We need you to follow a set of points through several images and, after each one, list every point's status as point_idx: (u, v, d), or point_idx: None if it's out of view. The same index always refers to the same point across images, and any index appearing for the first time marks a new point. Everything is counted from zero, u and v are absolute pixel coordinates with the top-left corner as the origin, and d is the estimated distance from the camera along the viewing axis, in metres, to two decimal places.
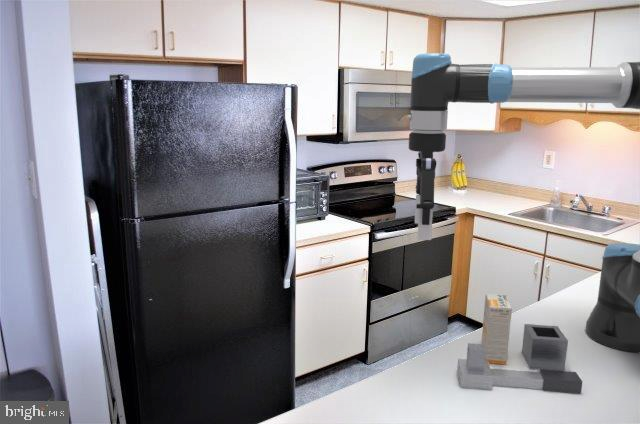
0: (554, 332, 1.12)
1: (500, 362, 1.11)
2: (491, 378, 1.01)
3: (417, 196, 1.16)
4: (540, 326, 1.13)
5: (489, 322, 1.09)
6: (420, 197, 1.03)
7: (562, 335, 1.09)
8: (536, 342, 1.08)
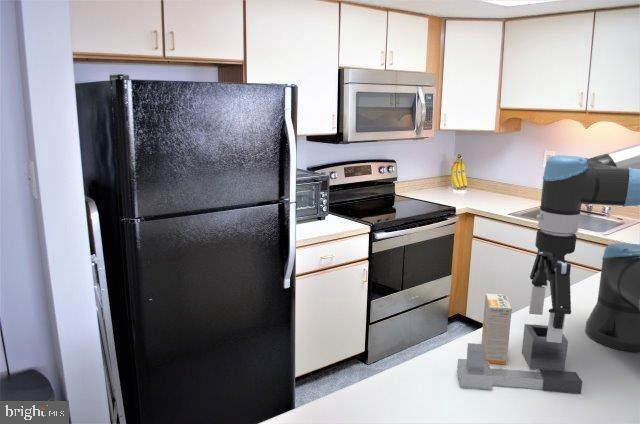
0: None
1: (500, 362, 1.11)
2: (491, 378, 1.01)
3: (534, 288, 1.15)
4: (540, 326, 1.13)
5: (489, 322, 1.09)
6: (553, 301, 1.02)
7: (562, 335, 1.09)
8: (536, 342, 1.08)
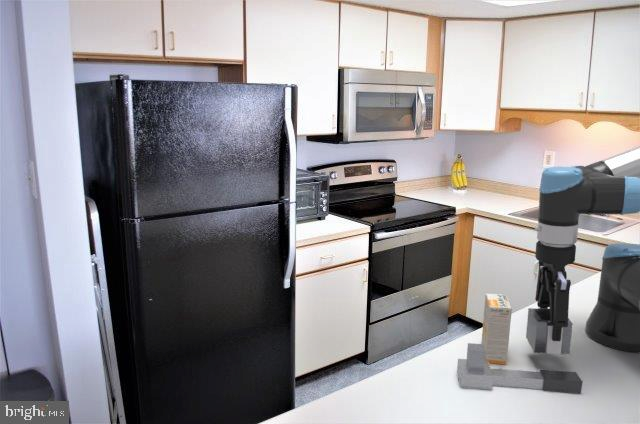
0: None
1: (500, 362, 1.11)
2: (491, 378, 1.01)
3: None
4: (544, 310, 1.12)
5: (489, 322, 1.09)
6: (551, 314, 1.05)
7: None
8: (540, 325, 1.07)
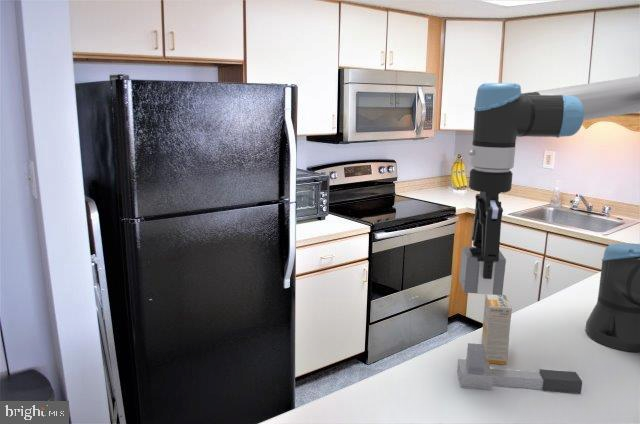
0: None
1: (500, 362, 1.11)
2: (491, 378, 1.01)
3: None
4: (479, 248, 1.01)
5: (489, 322, 1.09)
6: (482, 249, 0.94)
7: (501, 255, 0.97)
8: (471, 261, 0.96)
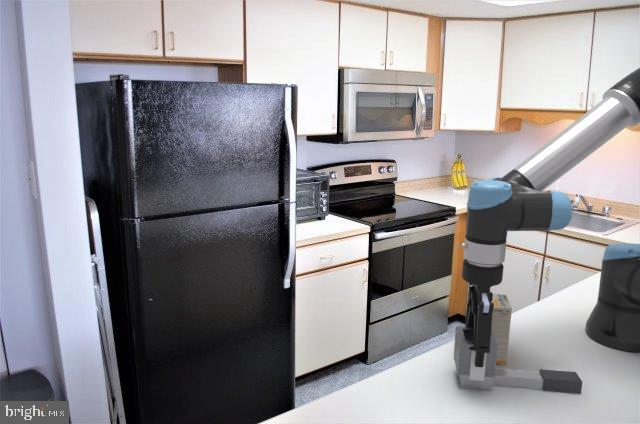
0: None
1: (500, 362, 1.11)
2: (491, 378, 1.01)
3: None
4: (472, 328, 1.05)
5: None
6: (474, 338, 0.98)
7: (493, 338, 1.01)
8: (464, 346, 1.00)
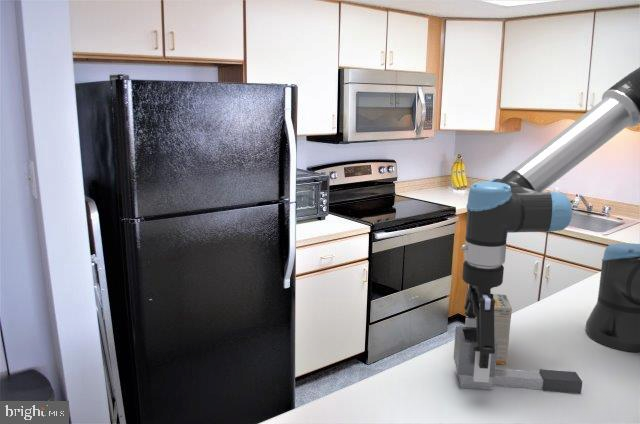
0: None
1: (500, 362, 1.11)
2: (491, 378, 1.01)
3: (467, 320, 1.09)
4: (472, 328, 1.05)
5: None
6: (478, 338, 0.95)
7: None
8: (464, 346, 1.00)
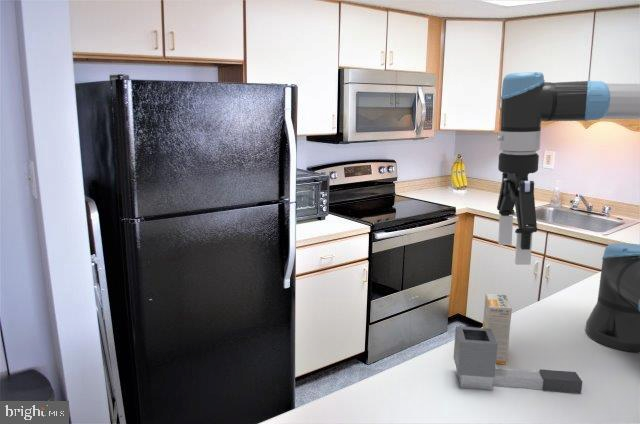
0: (486, 335, 1.04)
1: (500, 362, 1.11)
2: (491, 378, 1.01)
3: (501, 217, 1.13)
4: (472, 328, 1.05)
5: (489, 322, 1.09)
6: (519, 221, 0.99)
7: (493, 338, 1.01)
8: (464, 346, 1.00)
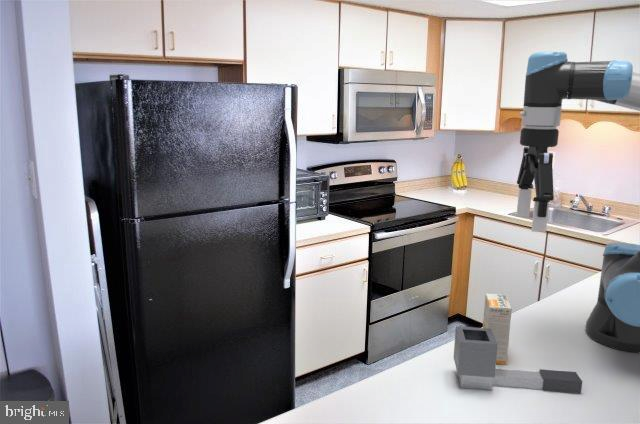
0: (486, 335, 1.04)
1: (500, 362, 1.11)
2: (491, 378, 1.01)
3: (521, 190, 1.20)
4: (472, 328, 1.05)
5: (489, 322, 1.09)
6: (537, 190, 1.06)
7: (493, 338, 1.01)
8: (464, 346, 1.00)
